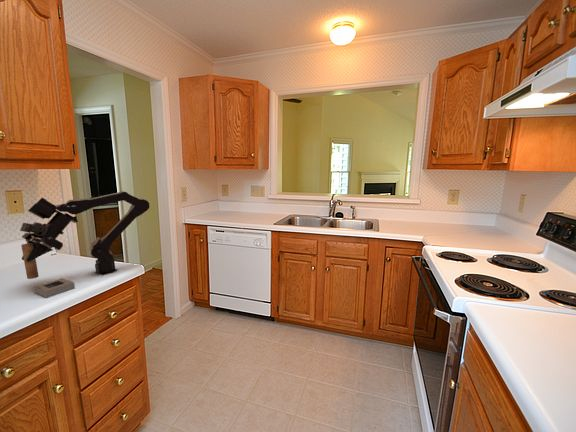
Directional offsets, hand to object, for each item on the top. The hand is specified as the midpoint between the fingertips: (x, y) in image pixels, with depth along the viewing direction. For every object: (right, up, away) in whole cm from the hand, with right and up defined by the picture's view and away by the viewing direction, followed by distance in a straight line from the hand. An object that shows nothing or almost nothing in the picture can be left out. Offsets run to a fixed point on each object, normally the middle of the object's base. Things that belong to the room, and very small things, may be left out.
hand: (25, 260), depth 102 cm
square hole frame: (+9, -12, +3) cm, 15 cm away
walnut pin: (+1, -7, +2) cm, 7 cm away
